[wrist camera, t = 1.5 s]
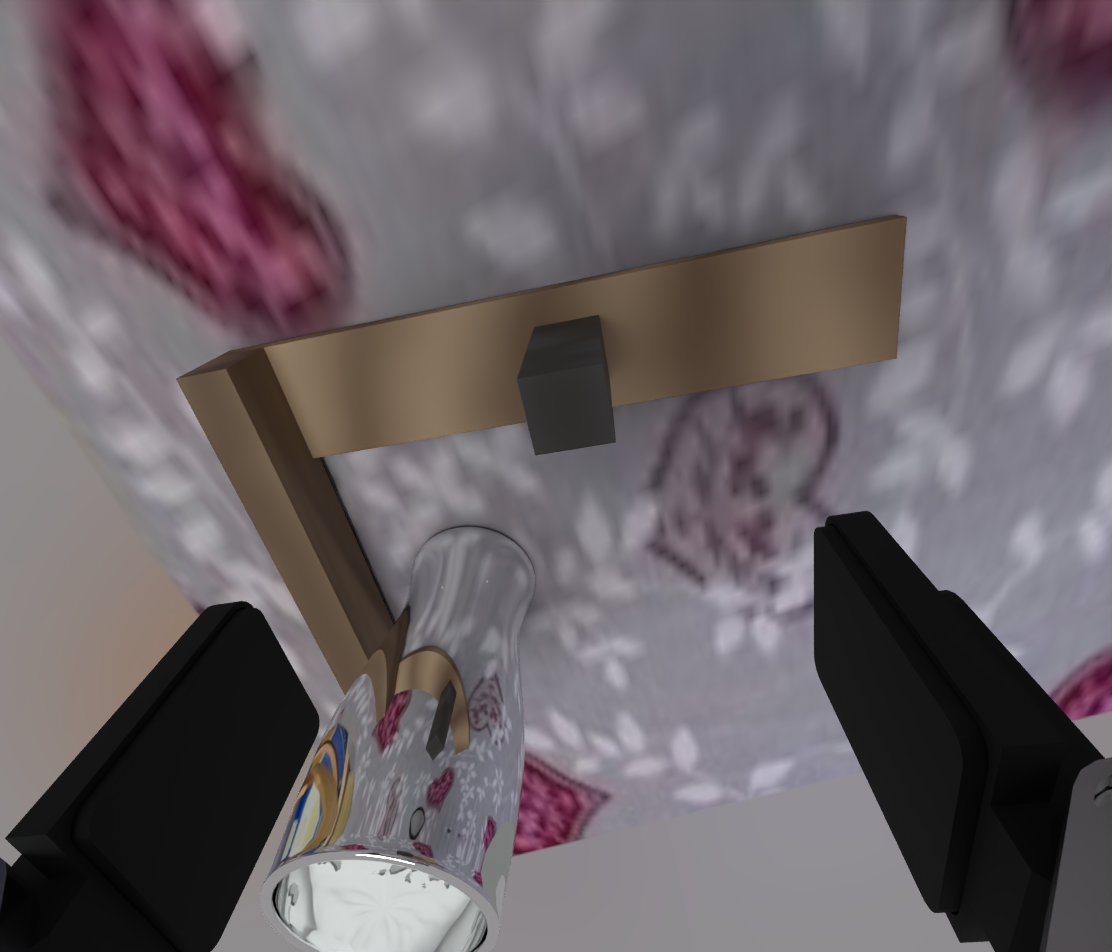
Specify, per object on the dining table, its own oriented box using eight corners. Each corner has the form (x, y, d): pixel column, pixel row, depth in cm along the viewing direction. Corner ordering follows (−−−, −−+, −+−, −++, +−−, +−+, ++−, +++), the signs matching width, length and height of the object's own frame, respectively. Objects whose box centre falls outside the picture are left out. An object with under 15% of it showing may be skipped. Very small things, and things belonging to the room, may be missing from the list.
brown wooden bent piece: (895, 214, 20) (1024, 236, 14) (871, 598, 28) (946, 714, 22) (229, 351, 24) (108, 413, 18) (375, 656, 32) (325, 770, 26)
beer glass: (561, 614, 30) (539, 972, 17) (437, 639, 31) (326, 990, 18) (518, 502, 27) (449, 833, 13) (382, 535, 28) (198, 867, 15)
